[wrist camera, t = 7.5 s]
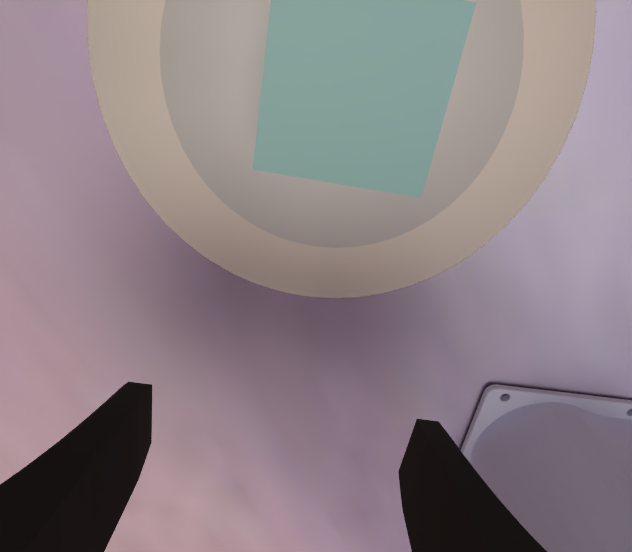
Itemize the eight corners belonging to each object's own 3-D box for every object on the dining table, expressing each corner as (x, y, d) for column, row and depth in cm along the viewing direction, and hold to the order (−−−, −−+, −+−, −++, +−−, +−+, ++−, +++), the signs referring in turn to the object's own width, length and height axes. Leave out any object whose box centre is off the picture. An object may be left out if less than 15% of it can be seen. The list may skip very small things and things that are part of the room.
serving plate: (677, -188, 14) (700, -204, 13) (491, 312, 21) (498, 322, 20) (77, -322, 12) (60, -350, 11) (110, 262, 20) (101, 271, 19)
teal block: (417, 25, 15) (476, 2, 10) (386, 156, 17) (421, 198, 12) (288, -1, 15) (275, -39, 9) (271, 136, 17) (252, 169, 11)
